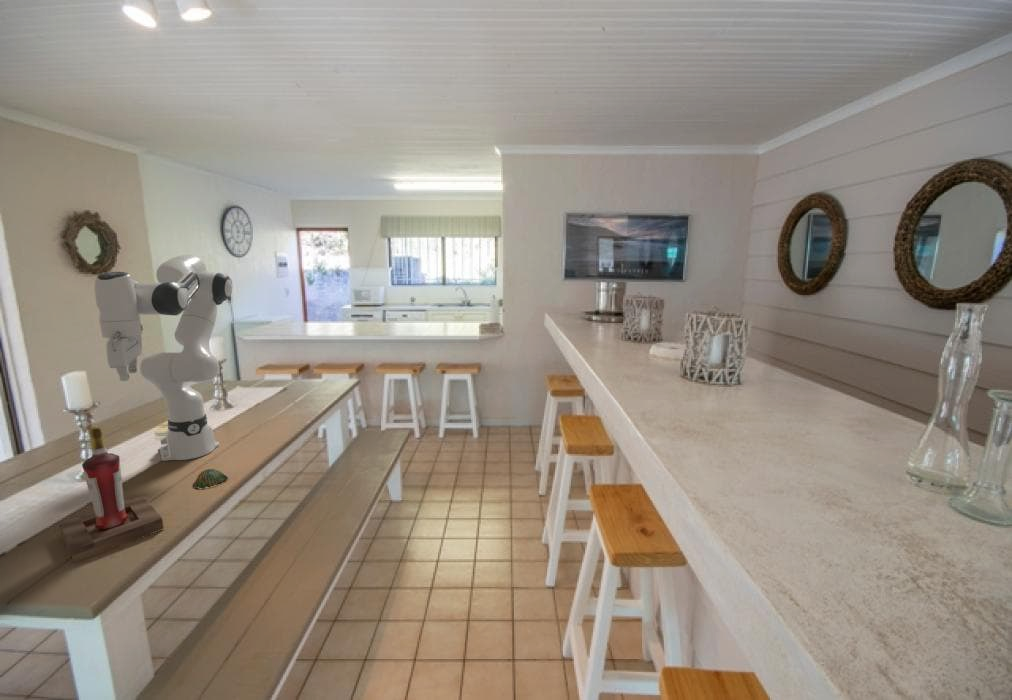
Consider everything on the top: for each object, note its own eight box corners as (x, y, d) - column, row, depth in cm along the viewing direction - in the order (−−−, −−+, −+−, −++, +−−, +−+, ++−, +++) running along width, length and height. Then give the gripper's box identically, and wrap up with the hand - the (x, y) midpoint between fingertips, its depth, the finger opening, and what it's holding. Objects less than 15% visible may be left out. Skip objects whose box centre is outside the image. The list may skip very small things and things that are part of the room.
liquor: (92, 525, 121) (74, 427, 115) (127, 514, 126) (111, 420, 121) (96, 536, 116) (77, 435, 110) (132, 524, 121) (116, 427, 116)
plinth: (61, 534, 120) (59, 522, 119) (145, 506, 134) (143, 496, 133) (74, 563, 109) (71, 550, 108) (163, 529, 123) (161, 518, 122)
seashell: (196, 480, 142) (188, 470, 148) (196, 492, 142) (188, 482, 149) (231, 472, 149) (223, 463, 156) (232, 484, 149) (223, 474, 156)
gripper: (126, 334, 120) (134, 383, 123) (143, 324, 138) (150, 367, 141) (95, 336, 117) (104, 386, 120) (117, 325, 135) (124, 369, 138)
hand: (129, 376), depth 131 cm, fingers open, 8 cm apart
